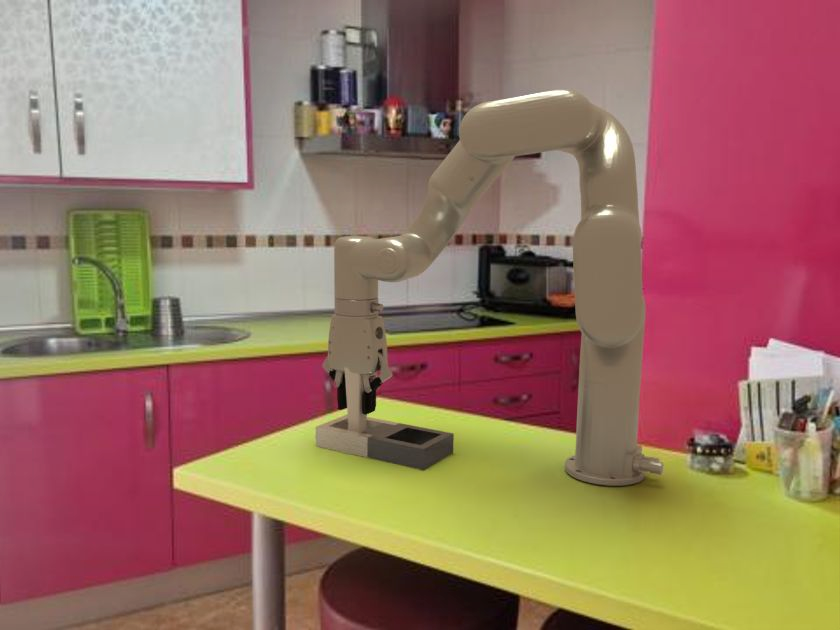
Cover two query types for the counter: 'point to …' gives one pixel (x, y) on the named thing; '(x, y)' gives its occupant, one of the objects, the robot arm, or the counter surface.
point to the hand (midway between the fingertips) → (356, 409)
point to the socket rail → (387, 442)
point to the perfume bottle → (355, 401)
